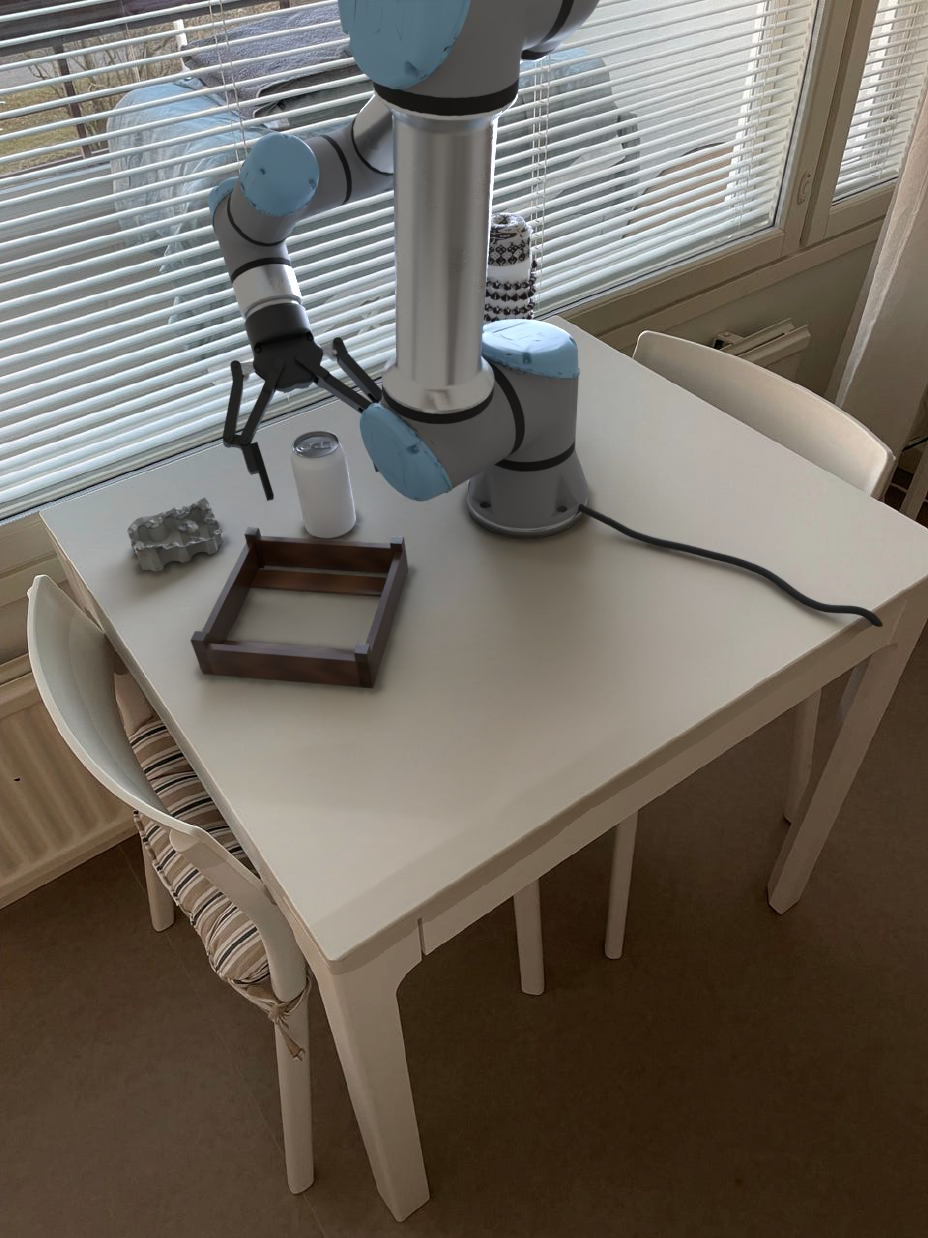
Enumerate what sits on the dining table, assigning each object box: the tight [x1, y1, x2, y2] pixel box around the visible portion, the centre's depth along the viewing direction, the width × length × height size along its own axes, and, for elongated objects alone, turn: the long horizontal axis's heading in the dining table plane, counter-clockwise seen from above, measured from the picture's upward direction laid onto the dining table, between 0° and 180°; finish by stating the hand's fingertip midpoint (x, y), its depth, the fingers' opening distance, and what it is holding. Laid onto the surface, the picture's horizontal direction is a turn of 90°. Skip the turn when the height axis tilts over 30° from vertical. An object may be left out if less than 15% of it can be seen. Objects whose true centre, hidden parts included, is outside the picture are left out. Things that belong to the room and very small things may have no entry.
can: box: [290, 430, 357, 540], centre depth 113 cm, size 6×6×12 cm
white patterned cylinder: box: [483, 212, 538, 326], centre depth 130 cm, size 9×9×25 cm
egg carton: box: [126, 497, 224, 572], centre depth 114 cm, size 11×8×4 cm
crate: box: [190, 526, 409, 689], centre depth 103 cm, size 19×19×5 cm
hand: (326, 483), depth 111 cm, fingers open, 13 cm apart
